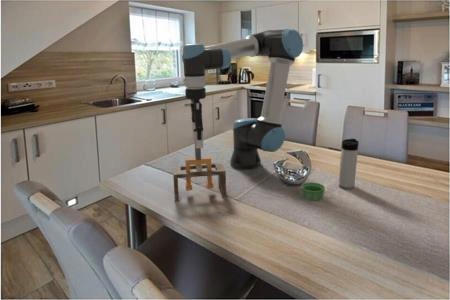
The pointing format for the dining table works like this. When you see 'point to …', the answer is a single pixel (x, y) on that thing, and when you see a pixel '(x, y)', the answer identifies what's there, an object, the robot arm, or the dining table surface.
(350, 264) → the dining table surface
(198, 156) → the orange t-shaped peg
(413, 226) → the dining table surface
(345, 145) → the travel mug
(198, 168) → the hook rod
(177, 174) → the brown frame with crossbar
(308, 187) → the ramekin
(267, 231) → the dining table surface
